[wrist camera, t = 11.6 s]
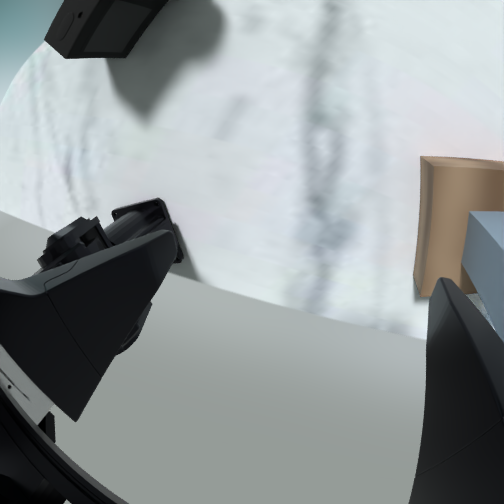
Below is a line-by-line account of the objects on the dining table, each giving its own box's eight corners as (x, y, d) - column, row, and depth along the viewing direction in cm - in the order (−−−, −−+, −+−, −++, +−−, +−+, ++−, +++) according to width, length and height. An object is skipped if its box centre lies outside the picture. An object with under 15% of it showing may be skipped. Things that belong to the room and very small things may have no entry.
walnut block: (413, 274, 21) (420, 296, 19) (420, 156, 17) (433, 166, 14) (503, 270, 18) (515, 289, 16) (521, 163, 13) (541, 174, 11)
